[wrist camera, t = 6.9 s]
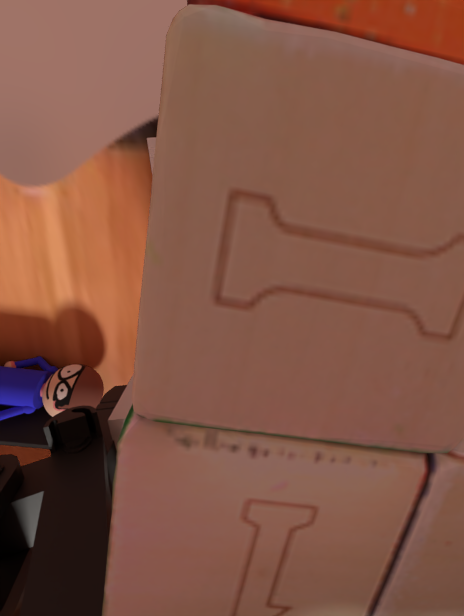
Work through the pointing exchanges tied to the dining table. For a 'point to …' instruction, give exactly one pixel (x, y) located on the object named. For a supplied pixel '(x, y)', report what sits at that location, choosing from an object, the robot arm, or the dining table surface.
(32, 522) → the robot arm
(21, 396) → the character figurine
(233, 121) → the stack of blocks
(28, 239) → the dining table surface
